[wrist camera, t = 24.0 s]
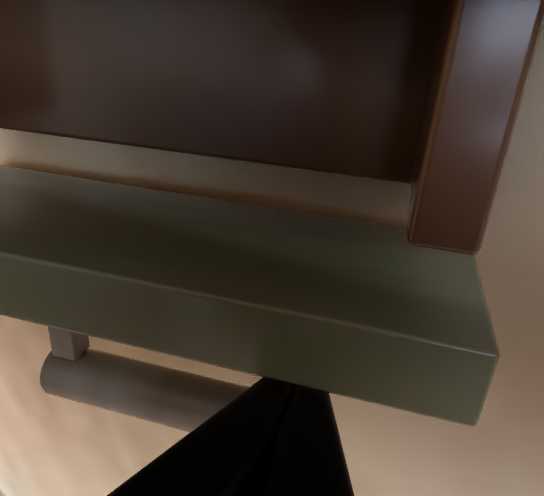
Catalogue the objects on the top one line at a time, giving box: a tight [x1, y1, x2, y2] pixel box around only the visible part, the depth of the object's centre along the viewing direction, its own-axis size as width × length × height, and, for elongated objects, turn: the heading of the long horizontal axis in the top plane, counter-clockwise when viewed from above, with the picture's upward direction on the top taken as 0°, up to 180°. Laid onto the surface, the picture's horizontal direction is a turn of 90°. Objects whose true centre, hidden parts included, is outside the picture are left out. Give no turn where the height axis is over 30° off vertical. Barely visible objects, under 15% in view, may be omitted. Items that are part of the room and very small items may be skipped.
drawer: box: [0, 0, 544, 432], centre depth 7 cm, size 16×11×4 cm
